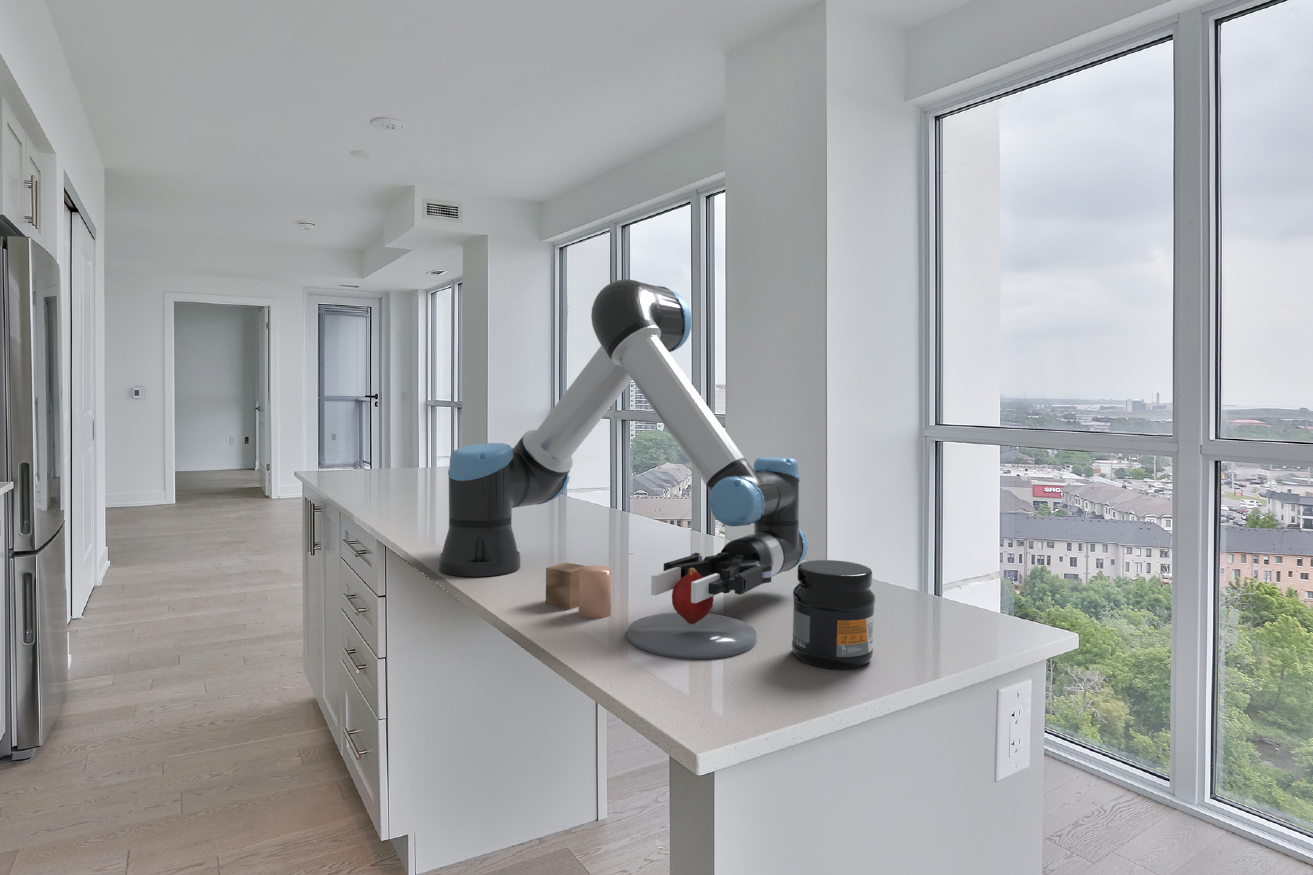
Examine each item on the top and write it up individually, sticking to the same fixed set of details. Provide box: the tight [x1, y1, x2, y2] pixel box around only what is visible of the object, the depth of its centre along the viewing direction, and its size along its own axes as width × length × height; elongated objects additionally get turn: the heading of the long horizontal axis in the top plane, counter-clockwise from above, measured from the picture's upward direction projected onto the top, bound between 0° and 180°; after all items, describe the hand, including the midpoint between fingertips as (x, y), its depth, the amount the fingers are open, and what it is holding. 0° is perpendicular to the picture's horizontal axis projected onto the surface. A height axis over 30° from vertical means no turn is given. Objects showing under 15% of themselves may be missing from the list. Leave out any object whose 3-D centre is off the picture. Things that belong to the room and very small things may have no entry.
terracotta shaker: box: [577, 565, 613, 620], centre depth 122 cm, size 5×5×7 cm
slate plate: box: [627, 612, 757, 660], centre depth 111 cm, size 18×18×1 cm
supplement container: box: [791, 559, 876, 670], centre depth 104 cm, size 10×10×12 cm
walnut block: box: [545, 562, 585, 611], centre depth 127 cm, size 5×5×6 cm
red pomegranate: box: [671, 568, 714, 624], centre depth 111 cm, size 6×6×8 cm
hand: (673, 588), depth 106 cm, fingers closed on red pomegranate, 6 cm apart
